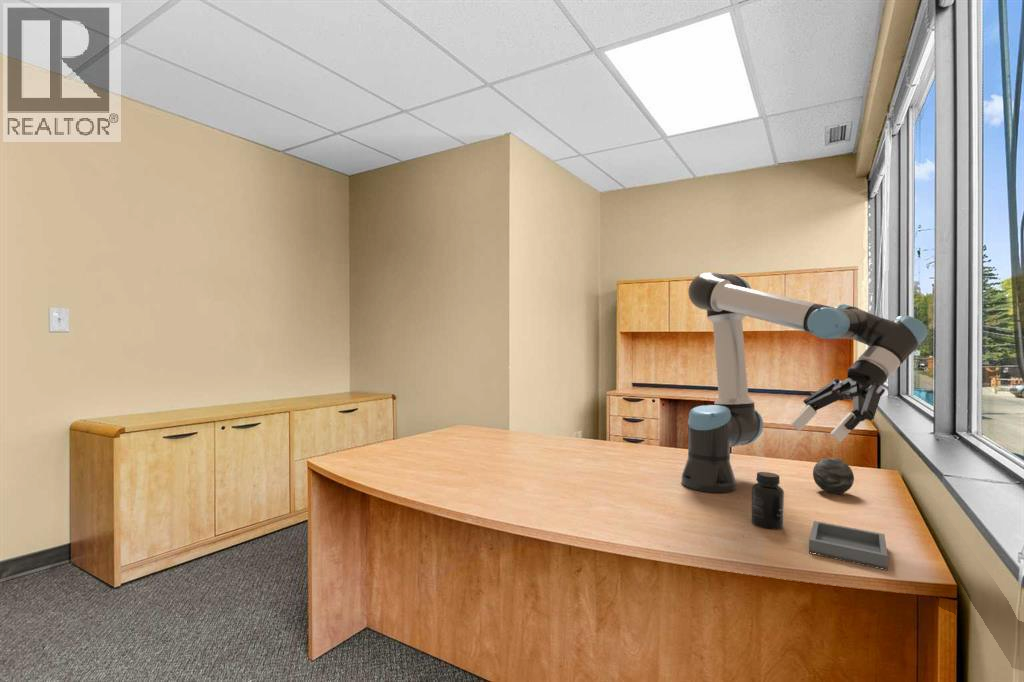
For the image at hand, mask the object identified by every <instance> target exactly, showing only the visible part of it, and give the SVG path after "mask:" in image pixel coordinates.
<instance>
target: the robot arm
mask: <svg viewBox="0 0 1024 682" xmlns="http://www.w3.org/2000/svg"><path fill="white" fill-rule="evenodd" d="M688 298H689V300H690V302H691V303H692V304H693V306H695V307H697V308H699V309H701V310H706V317H707V320H708V321H711V323H712V329H713V341H714V353H715V354H714V355H715V356H714V357H715V367H716V378H717V379H716V380H717V381H716V382H717V391H718V392H717V393H718V397H717V399H715V401H714V403H713V404H714V405H713V404H707V405H706V404H705V405H704V404H703V405H699V406H695V407H693V408H692V409H691V410H690V411H689V413H688V420H687V424H688V425H687V426H688V436H687V437H688V441H687V442H688V443H687V447H688V449H687V450H688V451H687V454H688V456H687V460H686V463H685V466H684V468H683V470H682V473H681V484H682V485H684V486H685V487H686V488H689V489H692V490H696V491H700V492H704V493H705V492H706V493H715V494H716V493H718V494H719V493H720V494H723V493H731V492H734V491H736V489H737V482H736V481H737V480H736V476H735V475H734V474H735V473H734V471H733V468H732V464H731V460H730V459H731V458H730V457H731V455H730V454H731V448H733V447H737V446H746V445H748V444H750V443H753V442H755V441H756V440H758V439H759V437H760V436H761V434H763V433H762V432H763V429H764V420H763V418H762V415H761V413H759V412H758V410H757V409H756V407H755V401H754V400H753V399H752V398H751V397H749V389H748V381H747V380H748V378H747V377H748V376H747V365H746V355H745V354H746V353H745V340H744V331H743V320H744V319H745V318H746V317H749V318H752V319H756V320H761V321H765V322H768V323H772V324H775V325H780V326H784V327H786V328H791V329H795V330H798V331H803V332H806V333H809V334H812V335H814V336H815V337H817V338H820V339H825V340H836V339H837V340H839V339H840V340H841V339H843V340H846V339H847V340H848V339H849V340H855V341H856V342H859V343H862V344H864V345H866V346H868V347H867V349H866V350H864V351H863V353H862V354H861V355H860V356H859V357H858V358H857V360H855V362H854V363H852V364H851V366H850V367H849V368H848V369H847V370H846V374H847V377H846V378H845V379H843V380H840V379H839V378H838V377H835V378H833V379H832V380H831V381H830V382H829V383H827V384H826V385H824V386H823V387H822V388H819V390H817V391H815V392H813V394H811V395H809V396H808V397H807V398H804V399H803V400H802V402H803V404H805V407H804V408H803V409H802V410H801V411H800V413H798V415H796V417H795V418H794V419H793V420H792V421H791V422H790V424H791V426H793V427H794V429H796V430H797V431H798V432H801V430H802V429H803V428H804V427H805V426H806V425H808V423H809V422H810V421H811V420H812V419H813V417H815V416H816V415H817V414H818V412H817V411H819V410H820V409H824V407H827V406H829V405H831V404H833V403H836V402H837V401H844V400H852V410H850V412H848V413H847V414H846V415H845V416H844V417H843V419H842V420H840V421H839V423H838V424H837V425H836V426H835V427H834V428H833V430H831V431H830V433H829V434H830V436H832V437H833V438H834V439H835V440H836V441H837V442H838V443H841V442H842V441H843V440H844V439H845V437H847V436H848V434H850V432H851V431H853V430H854V429H855V428H856V427H857V426H858V425H859V424H860V422H864V421H865V420H868V421H870V422H871V421H873V420H874V419H875V416H876V413H877V410H878V405H879V402H880V401H881V397H882V396H883V394H884V393H885V391H886V389H885V388H884V387H883V385H884V384H885V383H886V382H887V380H888V378H890V377H891V376H892V375H893V373H895V372H896V371H897V370H898V368H899V367H900V366H901V365H902V364H903V363H904V362H905V361H906V359H908V358H909V357H910V355H912V353H914V352H915V351H916V350H917V349H918V348H919V346H920V344H921V343H922V342H923V341H924V339H925V338H926V337H927V336H928V329H927V326H926V325H925V324H924V323H923V322H922V321H921V320H919V319H918V318H915V317H914V316H910V315H899V316H897V317H896V318H894V319H892V320H889V319H887V318H883V317H881V316H878V315H876V314H872V313H871V312H868V311H865V310H862V309H861V308H858V307H856V306H852V305H848V304H847V303H841V304H839V305H838V306H835V307H834V306H829V305H826V304H825V305H824V304H820V303H815V302H811V301H807V300H802V299H797V298H792V297H790V296H789V297H788V296H784V295H780V294H775V293H771V292H766V291H761V290H758V289H752V288H751V285H750V284H749V282H748V281H747V280H745V279H744V278H743V277H740V276H738V275H734V274H725V273H718V272H717V273H716V272H703V273H701V274H699V275H697V276H695V277H694V278H693V280H692V281H691V282H690V284H689V286H688Z"/></svg>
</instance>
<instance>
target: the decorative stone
mask: <svg viewBox="0 0 1024 682" xmlns="http://www.w3.org/2000/svg"><path fill="white" fill-rule="evenodd" d="M812 476H813V480H814V482H815V484H816V485H817V486H818V488H820V489H821V490H822V491H824V492H826V493H829V494H835V495H837V494H839V495H840V494H844V493H846V492H847V491H849V490H850V489H851V488H852V486H853V484H854V481H855V476H854V472H853V470H852V468H851V467H850V465H848V464H847V462H845V461H843V460H841V459H839V458H836V457H827V458H823V459H820V460H819V461H817V463H815V465H814V467H813V469H812Z"/></svg>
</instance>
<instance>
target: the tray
mask: <svg viewBox="0 0 1024 682" xmlns="http://www.w3.org/2000/svg"><path fill="white" fill-rule="evenodd" d="M808 541H809V543H808V544H809V545H808V546H809V547H808V553H809V552H811V553H816V554H820V555H823V556H822V557H825V556H827V557H826V558H829V557H832V558H831V559H834V558H837V559H836V560H838V559H841V560H840V561H843V560H845V561H844V562H847V561H850V562H849V563H852V562H855V563H854V564H856V563H860V564H859V565H861V564H864V565H863V566H865V565H869V566H868V567H870V566H873V567H872V568H874V567H878V568H877V569H879V568H883V569H887V570H888V557H889V556H888V548H887V542H886V535H885V534H884V533H880V532H875V531H869V530H864V529H859V528H854V527H848V526H843V525H838V524H833V523H827V522H823V521H817V520H813V523H812V527H811V532H810V535H809V539H808ZM811 553H810V554H811ZM816 554H815V555H816ZM820 555H819V556H820ZM883 569H882V570H883Z"/></svg>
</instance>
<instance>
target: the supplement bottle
mask: <svg viewBox="0 0 1024 682" xmlns="http://www.w3.org/2000/svg"><path fill="white" fill-rule="evenodd" d="M755 478H756V483H754V484H753V485H752V487H751V513H750V514H751V516H750V517H751V519H750V520H751V522H752V524H754V525H755V526H757V527H761V528H762V529H769V530H779V529H781V528H783V526H784V510H785V509H784V504H785V503H784V502H785V492H784V489H783V488H782V487H781V486H780V484H781V482H780V475H779V474H777V473H774V472H767V471H758V472H757V473H756V477H755Z"/></svg>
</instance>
